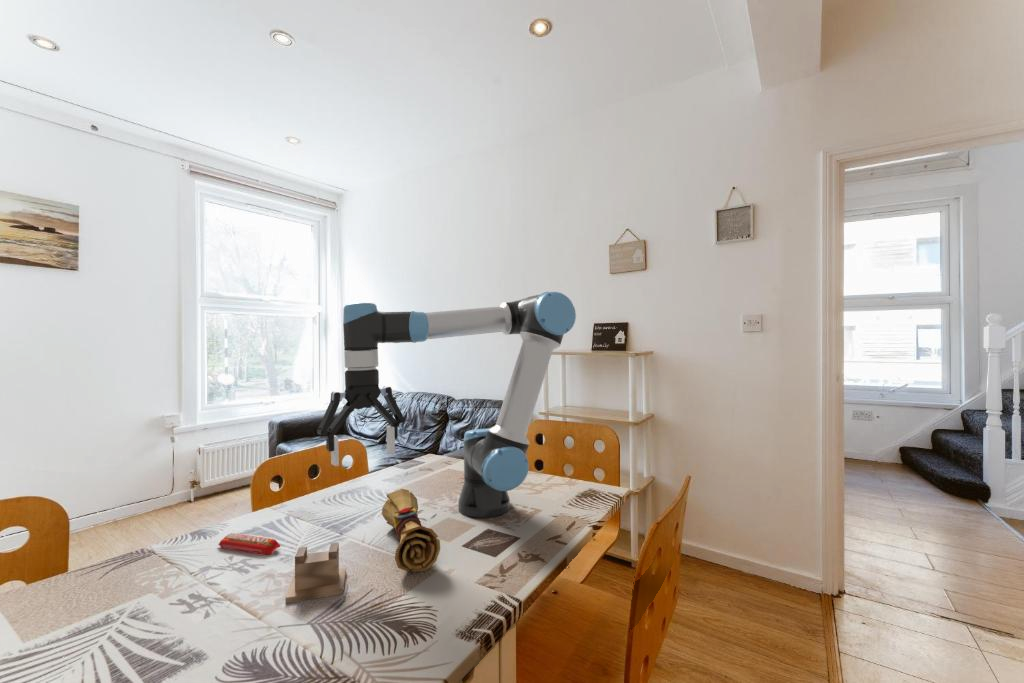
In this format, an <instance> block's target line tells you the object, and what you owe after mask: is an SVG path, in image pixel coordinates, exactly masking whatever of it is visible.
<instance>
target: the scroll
mask: <svg viewBox="0 0 1024 683" xmlns="http://www.w3.org/2000/svg"><path fill="white" fill-rule="evenodd" d="M386 498H387V500H386V501H385V503H384V504H383V506H382V510H381V515H382V518H384V520H385V521H386V524H387V525H389V526H391V527H393V528H394V530H395V533H396V536H397V538H398V540H399V544H398V545H397V548H396V550H395V555H394V560H395V562H396V566H397V568H398V569H400V570H402V571H405V572H409V571H411V572H424V571H428V570H429V569H430V568H431V567H432V566H433V565H434V564H435V563H436V562H437V560H438V557H439V554H440V552H441V543H440V542H441V540H440V539H439V535H438V534H437V533H436V532H435V531H434V529H432V528H429V527H426V526H422V522H421V520H420V518H419V517H418V516H419V514H418V510H419V504H418V499H417V497H416V496H415V494H414V493H413V492H412V491H410V490H409V489H405V488H400V489H397V490H395V491H393V492H389V493H388V494H386Z"/></svg>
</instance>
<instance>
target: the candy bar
mask: <svg viewBox="0 0 1024 683" xmlns="http://www.w3.org/2000/svg"><path fill="white" fill-rule="evenodd" d="M217 546H220V548H221V549H222V550H228V551H234V552H240V553H249V554H253V555H261V556H270V555H271V554H273V553H274V552H275V551H276V550H277V549H279V548H280V547H281V544H280V543H279V542H278V541H277V540H276V539H274V538H269V537H264V536H256V535H250V534H249V535H248V534H242V533H233V532H231V533H229V534H227V535H225V536H224V537H222V539H221V540H220V542H219V543H218V544H217Z"/></svg>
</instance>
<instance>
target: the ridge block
mask: <svg viewBox="0 0 1024 683" xmlns="http://www.w3.org/2000/svg"><path fill="white" fill-rule="evenodd" d="M339 543H340V542H331V543H330V545H329V549H328V550H325V551H319V552H311V553H308V546H299V547H298V548H297V551H296V553H295V555H294V575H293V577H292V580H291V583H290V584H289V588H288V591H287V593H286V596H285V604H289V603H296V602H301V601H307V600H313V599H319V598H325V597H330V596H331V597H332V596H337V595H344V588H345V582H346V575H347V568H346V567H343V568H340V567H339V565H340V561H339V558H340V557H339V556H340V548H339V547H340V546H339Z"/></svg>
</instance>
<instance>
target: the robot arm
mask: <svg viewBox="0 0 1024 683" xmlns="http://www.w3.org/2000/svg"><path fill="white" fill-rule="evenodd" d="M342 314H343V320H342V321H343V323H342V324H343V326H342V327H343V347H344V350H343V352H344V354H343V356H344V368H345V369H347V370H345V371H344V386H345V388H344V389H345V390H344V391H342V392H338V391H332V392H331V393H330V402H329V403H328V406H327V409H326V410H325V413H324V415H323V417H322V419H321V422H320V423H319V425H318V428H317V430H316V434H318V435H321V436H324V437H325V439H326V442H325V445H326V450H327V451H328V452H330V462H331V465H332V466H334V467H339V466H340V458H339V457H340V454H339V452H340V450H339V449H340V448H339V436H337V435H336V434H337V432H338V431H339V430H340V429H341V427H342V425H344V423H345V421H346V420H347V419H348V418H349V416H350V415H351V413H352V412H354V411H355V410H362V409H364V408H366V409H370V408H374V410H376V411H377V413H379V415H381V417H382V418H383V419H384V420H385V421H386V422H387V423H388V424H389V425H386V452H387V453H388V454H391V455H393V454H396V440H397V439H398V437H399V436H398V434H399V431H398V427H399V426H400V425H401V424H402V423H405V421H406V420H405V416H404V414H403V413H402V412H401V409H400V406H398V404H397V402H396V400H395V397H394V396H393V389H392V387H391V386H385V385H384V386H383V387H381V388H380V386H379V384H380V377H379V376H380V374H379V369H378V368H377V367H378V366H379V347H378V346H379V345H378V344H386V343H387V344H388V343H389V344H391V343H393V344H398V343H399V344H401V343H402V344H403V343H422V342H426V341H427V340H434V339H444V338H453V337H455V338H456V337H463V336H464V337H465V336H474V335H476V336H477V335H483V334H484V335H485V334H493V333H494V334H495V333H503V334H504V335H505V336H506V335H507V336H508V335H520V337H521V339H522V343H521V346H520V349H519V352H518V355H517V357H516V362H515V365H514V368H513V370H512V375H511V376H510V380H509V383H508V386H507V390H506V392H505V395H504V398H503V401H502V405H501V408H500V411H499V413H498V416H497V419H496V423H495V425H493V426H491V427H489V428H475V429H470V430H467V431H465V432H464V435H463V436H464V438H463V441H462V442H463V443H462V444H463V459H464V460H463V472H464V473H463V476H464V477H463V478H464V479H463V485H462V488H461V490H460V495H459V498H458V502H457V503H458V504H457V505H458V506H457V508H458V511H459V512H460V514H463V515H464V516H467V517H471V518H480V519H482V518H493V517H497V516H498V517H499V516H501V515H503V514H506V513H507V512H508V511H510V508H511V500H510V496H509V493H508V491H509V492H510V491H512V490H514V489H517V487H519V486H521V485H522V484H523V482H524V481H525V480H526V478H527V476H528V474H529V468H530V464H529V459H528V456H527V452H528V449H529V446H530V441H529V439H528V437H527V433H528V430H529V428H530V424H531V420H532V418H533V414H534V410H535V408H536V404H537V402H538V399H539V395H540V391H541V389H542V385H543V383H544V379H545V376H546V373H547V370H548V367H549V363H550V361H551V357H552V354H553V352H554V351H555V350H556V349H558V348H560V347H561V345H562V341H563V338H564V335H566V334H567V333H568V332H570V331H571V330H572V329H573V327H574V325H575V323H576V317H577V314H576V308H575V306H574V304H573V301H572V300H571V299H570V298H569V297H568V296H567V295H565V294H564V293H561V292H558V291H545V292H542V293H540V294H536V295H532V296H528V297H525V298H522V299H519V300H515V301H509V302H502V303H501V304H500V305H499V306H492V307H491V306H489V307H479V308H478V307H477V308H467V309H466V308H465V309H456V310H455V309H453V310H443V311H441V310H440V311H430V312H424V311H414V310H413V311H378V308H377V304H376V303H374V302H373V303H372V302H349V303H347V304H345V305H344V307H343V313H342ZM380 395H382V396H381V397H383V398H384V400H385V402H386V404H387V406H388V407H389V410H390V411H391V413H392V414H391V413H390V412H389V411H388V409H387V408H386V407H384V405H383V403H382V402H381V401H380V400H379V399H378V398H379V397H380ZM343 399H345V401H346V403H345V404H344V405H343V407H342V409H341V410H340V412H339V413H338V414H337V416H336V417H335V419H334V416H335V414H336V413H337V411H338V408H339V405H340V402H342V401H343ZM333 419H334V420H333Z"/></svg>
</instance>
